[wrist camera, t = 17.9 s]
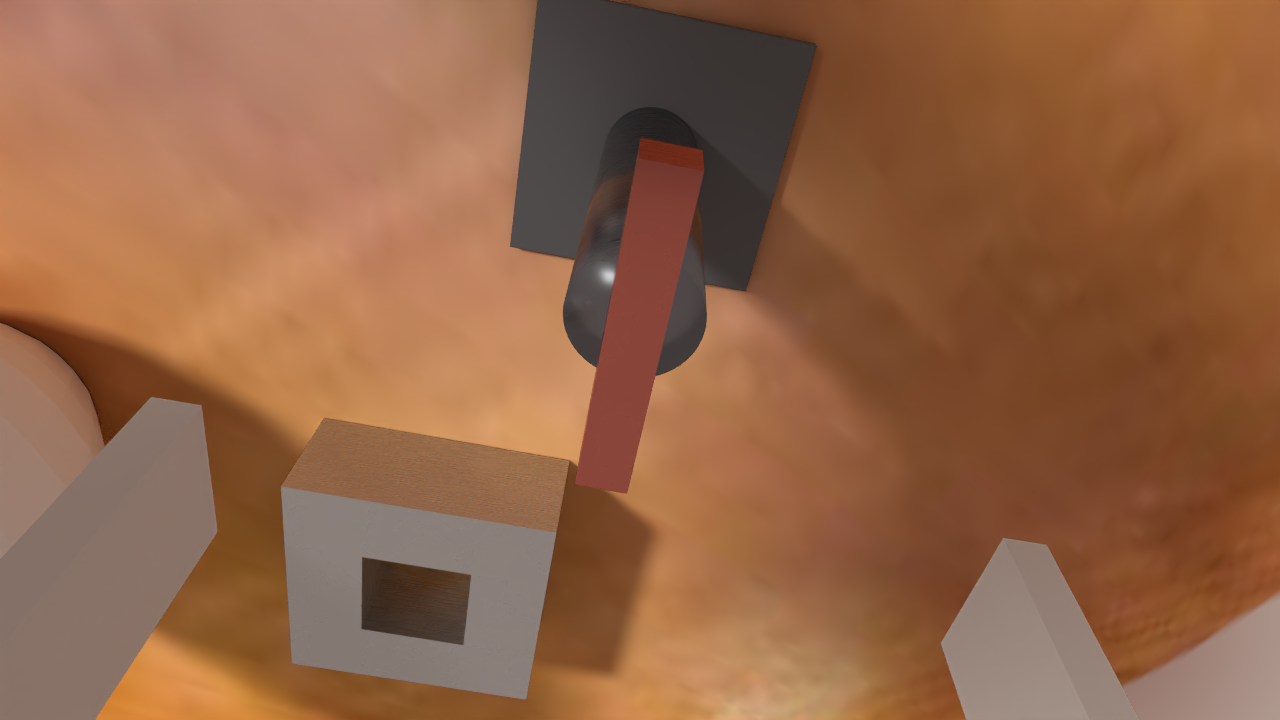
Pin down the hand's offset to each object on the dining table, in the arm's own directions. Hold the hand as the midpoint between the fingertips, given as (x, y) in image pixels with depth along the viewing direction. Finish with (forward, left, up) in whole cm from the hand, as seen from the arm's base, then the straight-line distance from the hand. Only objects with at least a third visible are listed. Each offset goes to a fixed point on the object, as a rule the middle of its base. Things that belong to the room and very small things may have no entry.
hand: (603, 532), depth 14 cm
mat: (0, 0, -21) cm, 21 cm away
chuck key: (0, 0, -21) cm, 21 cm away
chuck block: (-7, -22, -21) cm, 31 cm away
